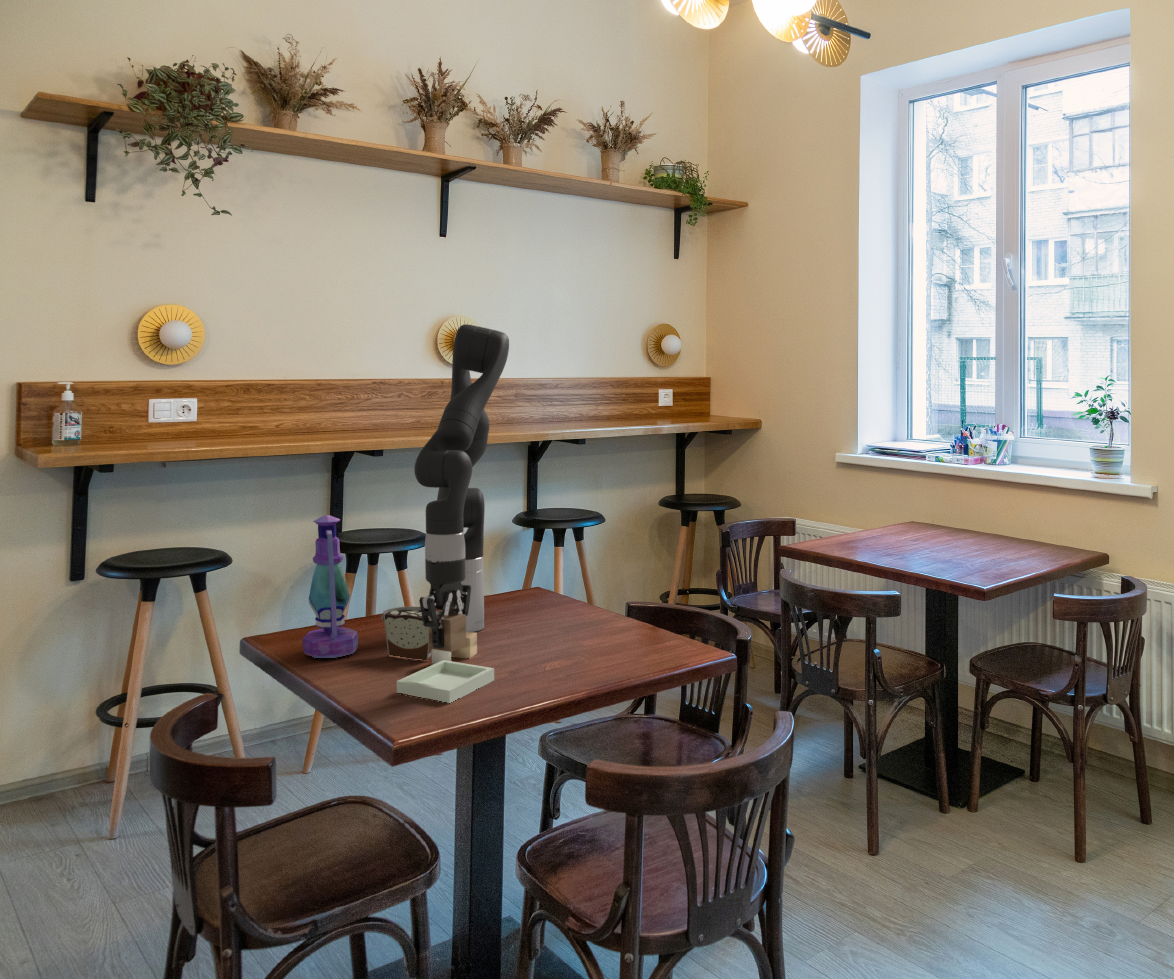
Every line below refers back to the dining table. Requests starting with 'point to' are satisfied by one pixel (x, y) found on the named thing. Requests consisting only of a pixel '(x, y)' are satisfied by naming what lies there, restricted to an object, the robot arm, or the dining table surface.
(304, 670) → the dining table surface
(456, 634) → the walnut block
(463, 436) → the robot arm
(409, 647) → the food container
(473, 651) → the oak cube
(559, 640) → the dining table surface
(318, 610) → the lantern
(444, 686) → the tray
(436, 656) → the ceramic shaker
